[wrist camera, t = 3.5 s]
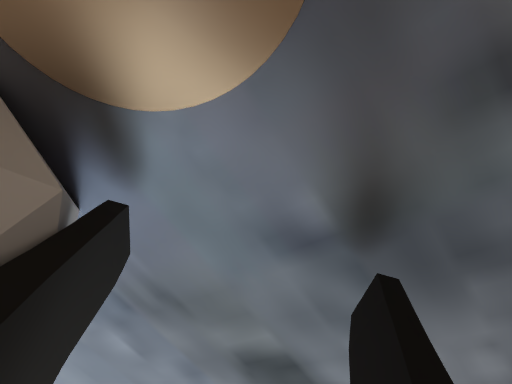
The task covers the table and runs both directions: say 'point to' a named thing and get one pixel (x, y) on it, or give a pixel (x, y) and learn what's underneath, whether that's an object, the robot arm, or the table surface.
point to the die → (27, 193)
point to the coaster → (147, 45)
